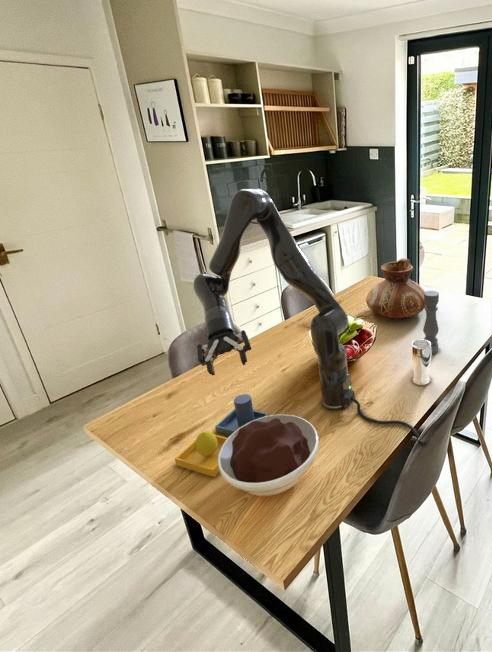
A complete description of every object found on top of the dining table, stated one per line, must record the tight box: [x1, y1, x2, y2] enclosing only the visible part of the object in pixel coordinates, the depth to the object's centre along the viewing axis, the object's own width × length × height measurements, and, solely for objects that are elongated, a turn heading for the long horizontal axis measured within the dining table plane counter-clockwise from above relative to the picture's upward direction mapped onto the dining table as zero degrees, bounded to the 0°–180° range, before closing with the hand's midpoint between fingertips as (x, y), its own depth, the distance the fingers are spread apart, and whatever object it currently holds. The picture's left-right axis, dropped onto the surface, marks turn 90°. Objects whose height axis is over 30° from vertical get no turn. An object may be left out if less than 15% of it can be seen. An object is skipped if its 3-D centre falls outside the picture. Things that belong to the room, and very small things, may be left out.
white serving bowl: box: [218, 413, 320, 497], centre depth 102 cm, size 25×25×15 cm
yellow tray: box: [174, 433, 228, 478], centre depth 111 cm, size 13×11×2 cm
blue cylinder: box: [233, 393, 255, 427], centre depth 122 cm, size 5×5×9 cm
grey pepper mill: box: [422, 290, 440, 355], centre depth 157 cm, size 6×6×25 cm
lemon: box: [195, 430, 218, 456], centre depth 110 cm, size 6×6×8 cm
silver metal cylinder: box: [410, 338, 432, 386], centre depth 140 cm, size 7×7×15 cm
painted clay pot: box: [365, 257, 426, 320], centre depth 193 cm, size 30×30×25 cm
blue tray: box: [215, 408, 270, 436], centre depth 123 cm, size 12×10×2 cm
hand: (228, 368), depth 111 cm, fingers open, 8 cm apart
